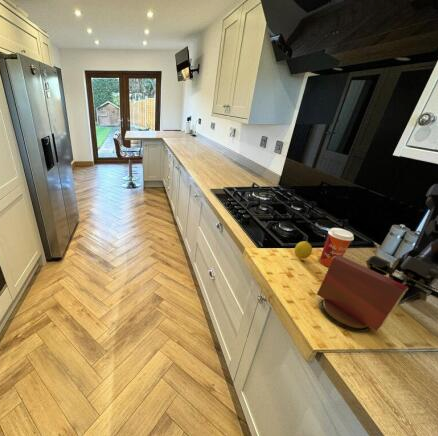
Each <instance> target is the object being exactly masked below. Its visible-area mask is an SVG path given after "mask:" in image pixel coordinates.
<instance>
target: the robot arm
mask: <svg viewBox="0 0 438 436" xmlns="http://www.w3.org/2000/svg"><path fill="white" fill-rule="evenodd" d="M425 197H427V199H426V201H425V205H426V207H427V209H428V210H429V211H428V214H427V216H426V218H425V221H424V223H423V225H422V227H421V230H420V232H419V233H418V237H417V239H416V241H415V242H414V245H413V248H412V249H411V250H409V251H407V252H405V253H404V254H402V255H401V257H400V256H399V257H398V258H397V259H395V260H394V261H393V263H392V265H391V262H390V261H389V260H386V259H383V258H381V257H380V256H377V255H373V256H370V257H368V258H367V259H366V261H365V262H366V268H368V269H371V270H373V271H375V272H377V273H379V274H381V275H384V276H387V275H388V278H390V279H392V280H394V281H397V282H399V283H401V284H403V285H405V286H407V287H408V290H407V291H406V293H405V294H404V296H403V297H402V299H401V300H400V302H399V303H398V305H397V306H399V305H402V304H405V303H408V302H412V301H417V300H421V301H423V302H427V300H428V297H433V298H435V299H437V300H438V289H437V288H435V287H433V285H434V284H435V283H436V282H437V281H438V183H434V184H433V185H431V186H430V187H429V189H428V190H427V192H426V194H425Z"/></svg>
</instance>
